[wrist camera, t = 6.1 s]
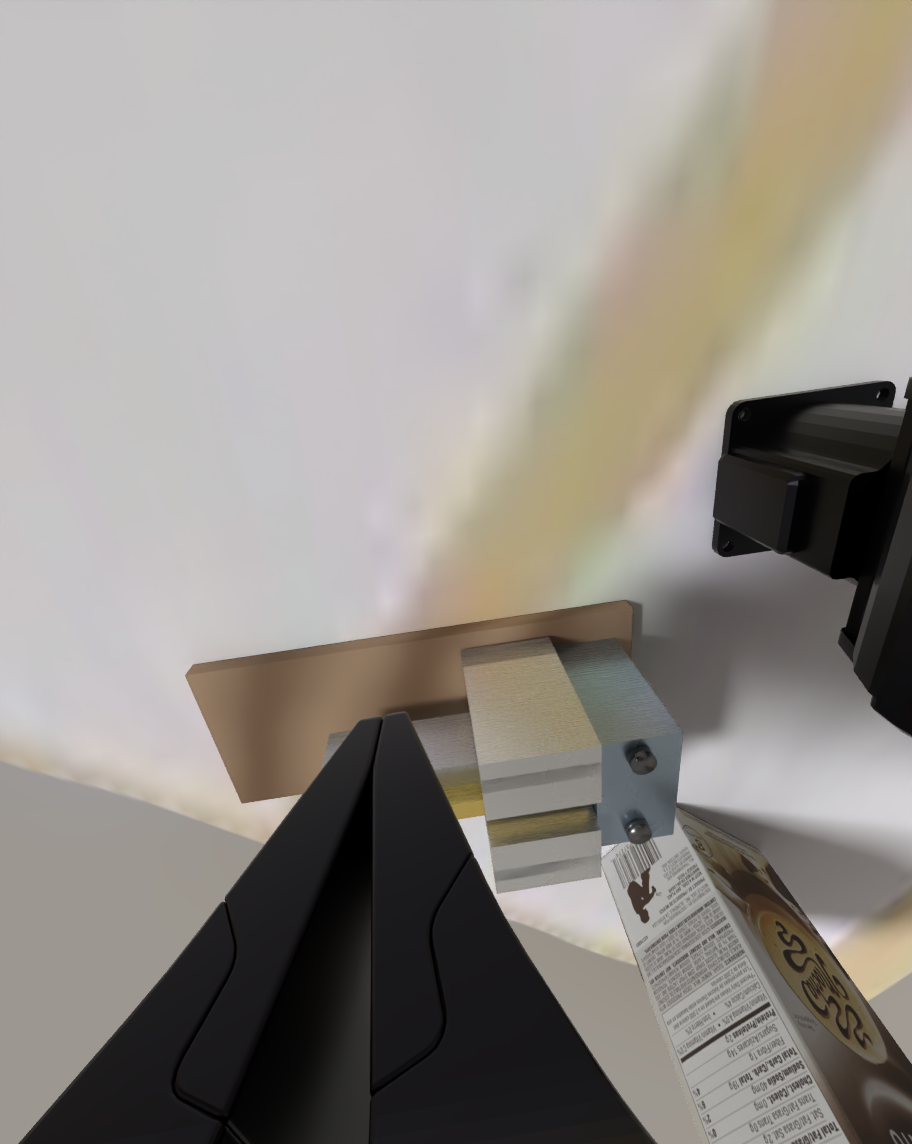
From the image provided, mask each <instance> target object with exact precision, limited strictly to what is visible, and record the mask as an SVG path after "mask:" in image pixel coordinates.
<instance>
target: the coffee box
mask: <svg viewBox="0 0 912 1144" xmlns="http://www.w3.org/2000/svg"><path fill="white" fill-rule="evenodd" d="M601 865H602V868H603V871H604V874H605V876H606V879H607V882H608V884H609V887H610V890H611V893H612V895H613V898H614V901H615V904H616V906H617V909H618V912H619V915H620V917H621V920H622V923H623V926H624V929H625V932H626V934H627V937H628V940H629V943H630V945H631V948H632V950H633V954H634V957H635V959H636V962H637V965H638V967H639V970H640V973H641V976H642V979H643V981H644V984H645V987H646V990H647V993H648V995H649V998H650V1001H651V1003H652V1007H653V1009H654V1012H655V1015H656V1017H657V1021H658V1023H659V1026H660V1029H661V1032H662V1034H663V1037H664V1040H665V1043H666V1045H667V1048H668V1051H669V1054H670V1057H671V1059H672V1062H673V1065H674V1068H675V1071H676V1074H677V1076H678V1079H679V1082H680V1085H681V1088H682V1090H683V1093H684V1096H685V1098H686V1102H687V1104H688V1107H689V1110H690V1112H691V1116H692V1118H693V1121H694V1124H695V1127H696V1130H697V1132H698V1135H699V1138H700V1141H701V1143H702V1144H912V1064H911V1063H910V1061H909V1060H908V1059H907V1057H906V1056H905V1054H904V1053H903V1052H902V1050H901V1049H900V1047H899V1046H898V1044H897V1043H896V1042H895V1040H894V1039H893V1037H892V1036H891V1034H890V1033H889V1032H888V1030H887V1029H886V1027H885V1026H884V1025H883V1024H882V1022H881V1020H880V1019H879V1018H878V1016H877V1015H876V1013H875V1012H874V1011H873V1009H872V1008H871V1006H870V1005H869V1003H868V1002H867V1001H866V999H865V998H864V997H863V995H862V994H861V992H860V991H859V989H858V988H857V987H856V985H855V984H854V982H853V981H852V980H851V978H850V977H849V975H848V974H847V973H846V971H845V970H844V968H843V967H842V966H841V964H840V963H839V961H838V960H837V958H836V957H835V956H834V954H833V953H832V951H831V950H830V948H829V947H828V945H827V944H826V942H825V941H824V940H823V938H822V937H821V936H820V934H819V933H818V931H817V930H816V928H815V927H814V926H813V924H812V923H811V922H810V920H809V919H808V918H807V916H806V915H805V913H804V912H803V910H802V909H801V908H800V906H799V905H798V903H797V902H796V901H795V899H794V898H793V896H792V895H791V893H790V892H789V891H788V889H787V888H786V886H785V885H784V884H783V882H782V881H781V879H780V878H779V877H778V875H777V874H776V872H775V871H774V870H773V868H772V867H771V865H770V864H769V863H768V861H767V860H766V858H765V857H764V856H763V854H762V853H761V852H760V851H758V850H757V849H755V848H753V847H751V846H749V845H747V844H745V843H743V842H741V841H740V840H738V839H736V838H734V837H732V836H730V835H728V834H727V833H725V832H723V831H721V830H719V829H717V828H715V827H713V826H712V825H710V824H708V823H706V822H704V821H702V820H700V819H698V818H697V817H695V816H693V815H691V814H689V813H687V812H685V811H683V810H682V809H680V808H678V807H676V812H675V822H674V833H673V835H667V836H661V837H655V838H651V839H650V840H649V841H647V842H646V843H643V844H633V843H631V842H624V843H619V844H618V845H617V846H616V847H615V848H614V849H613V850H611V851H610V852H609V853H608V854H607V855H605V856H604V857H603V858H602V859H601Z"/></svg>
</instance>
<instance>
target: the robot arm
mask: <svg viewBox="0 0 912 1144" xmlns="http://www.w3.org/2000/svg"><path fill="white" fill-rule="evenodd" d="M879 391H880V395H879V397H878V398H877V399H876V396H877V393H878V392H879ZM895 392H896V387H895V385H894V384H893V383H892V382H890V381H872V382H865V383H858V384H850V385H843V386H836V387H829V388H822V389H815V390H808V391H801V392H794V393H787V394H780V395H773V396H766V397H759V398H752V399H745V400H739V401H736V402H734V403H733V404H732V405H730V407H729V408H728V410H727V413H726V418H725V427H724V436H723V446H722V455H721V458H720V460H719V462H718V472H717V481H716V491H715V501H714V510H713V517H714V518H715V521H714V530H713V540H712V549H713V550H714V552H716V553H717V554H719V555H720V556H722V557H731V556H737V555H744V554H751V553H757V552H764V551H771V550H773V551H775V552H776V553H778V554H786V555H788V556H790V557H792V558H793V559H795V560H797V561H799V562H801V563H803V564H805V565H807V566H809V567H811V568H813V569H814V570H816V571H818V572H820V573H822V574H824V575H826V576H828V577H830V578H832V579H845V580H847V581H849V582H851V583H853V584H855V585H856V586H857V588H856V592H855V596H854V599H853V603H852V607H851V610H850V614H849V617H848V621H847V625H846V627H844V628H842V629H841V632H840V636H839V640H838V644H839V645H840V647H841V648H842V649H843V651H844V652H845V653H846V654H847V656H848V657H849V658H850V660H851V661H852V662H853V667H854V672H855V673H856V675H857V676H858V678H859V679H860V680H861V682H862V683H863V685H864V686H865V688H866V689H867V691H868V692H869V693H870V694H871V695H872V699H871V706H872V708H873V709H874V710H875V711H876V712H877V713H878V714H880V715H881V716H882V717H883V718H885V719H886V720H887V721H889V722H890V723H891V724H893V725H894V726H895V727H896V728H898V729H899V730H900V731H902V732H903V733H905V734H907V735H908V736H910V737H912V377H910V378H909V381H908V385H907V388H906V392H905V396H904V398H906V399H908V402H907V406H906V409H898V408H892V405H893V401H894V397H895ZM742 409H744V412H745V413H744V416H743V417H742V418H741V419H740V420H739V419H738V414H739V412H740V411H741V410H742ZM728 541H729V543H728V545H727V546H726V547H725V548H723V545H724V544H725V543H726V542H728ZM19 1144H657V1142H656V1141H655V1140H654V1139H653V1138H652V1136H651V1135H650V1134H649V1133H648V1131H647V1130H646V1129H645V1128H644V1126H643V1125H642V1124H641V1122H640V1121H639V1120H638V1119H637V1117H636V1116H635V1115H634V1113H633V1112H632V1111H631V1109H630V1108H629V1106H628V1105H627V1104H626V1102H625V1101H624V1100H623V1098H622V1097H621V1095H620V1094H619V1093H618V1091H617V1090H616V1088H615V1087H614V1085H613V1084H612V1083H611V1081H610V1080H609V1078H608V1077H607V1076H606V1074H605V1072H604V1071H603V1070H602V1068H601V1066H600V1065H599V1064H598V1062H597V1061H596V1059H595V1058H594V1056H593V1054H592V1053H591V1051H590V1050H589V1048H588V1047H587V1045H586V1044H585V1042H584V1041H583V1039H582V1038H581V1036H580V1034H579V1033H578V1032H577V1030H576V1028H575V1027H574V1026H573V1024H572V1022H571V1021H570V1019H569V1017H568V1016H567V1014H566V1013H565V1011H564V1010H563V1008H562V1007H561V1005H560V1004H559V1002H558V1001H557V999H556V997H555V996H554V994H553V993H552V991H551V990H550V988H549V987H548V985H547V984H546V982H545V980H544V979H543V977H542V976H541V974H540V973H539V971H538V970H537V968H536V967H535V965H534V963H533V962H532V960H531V959H530V957H529V956H528V954H527V953H526V951H525V949H524V948H523V946H522V944H521V943H520V941H519V939H518V938H517V936H516V934H515V933H514V931H513V929H512V928H511V926H510V924H509V923H508V921H507V919H506V918H505V916H504V914H503V912H502V910H501V908H500V907H499V905H498V903H497V901H496V899H495V897H494V895H493V893H492V891H491V889H490V887H489V885H488V883H487V881H486V879H485V877H484V875H483V873H482V870H481V868H480V866H479V864H478V862H477V860H476V858H474V854H473V852H472V850H471V848H470V845H469V843H468V841H467V839H466V837H465V835H464V833H463V830H462V828H461V826H460V824H459V822H458V820H457V818H456V815H455V813H454V811H453V809H452V807H451V805H450V803H449V800H448V798H447V796H446V794H445V792H444V790H443V788H442V785H441V783H440V781H439V779H438V777H437V775H436V773H435V771H434V768H433V766H432V764H431V762H430V760H429V758H428V756H427V753H426V751H425V749H424V747H423V745H422V743H421V741H420V738H419V736H418V734H417V732H416V730H415V728H414V726H413V723H412V721H411V719H410V717H409V715H408V713H407V712H405V711H403V712H397V713H392V714H387V715H386V716H384V718H383V717H382V716H376V717H370V718H365V719H361V720H360V721H358V722H357V724H356V725H355V726H354V728H353V729H352V730H351V732H350V733H349V734H348V736H347V737H346V738H345V739H344V741H343V742H342V743H341V745H340V746H339V747H338V749H337V750H336V751H335V753H334V754H333V755H332V757H331V758H330V759H329V761H328V762H327V763H326V764H325V766H324V767H323V768H322V770H321V771H320V772H319V774H318V775H317V776H316V778H315V779H314V780H313V782H312V783H311V784H310V786H309V787H308V788H307V789H306V791H305V792H304V793H303V795H302V796H301V797H300V799H299V800H298V801H297V803H296V804H295V805H294V807H293V808H292V809H291V811H290V812H289V813H288V815H287V816H286V817H285V818H284V820H283V821H282V822H281V824H280V825H279V826H278V828H277V829H276V830H275V832H274V833H273V834H272V836H271V837H270V838H269V840H268V841H267V842H266V843H265V845H264V846H263V847H262V849H261V850H260V851H259V853H258V854H257V855H256V857H255V858H254V859H253V861H252V862H251V863H250V865H249V866H248V867H247V869H246V870H245V871H244V872H243V874H242V875H241V876H240V878H239V879H238V880H237V882H236V883H235V884H234V886H233V887H232V888H231V890H230V891H229V892H228V894H227V895H226V896H225V902H221V903H220V904H219V905H218V907H217V908H216V909H215V910H214V912H213V913H212V914H211V916H210V917H209V918H208V920H207V921H206V922H205V923H204V925H203V926H202V927H201V929H200V930H199V931H198V933H197V934H196V935H195V936H194V938H193V939H192V940H191V942H190V943H189V944H188V945H187V947H186V948H185V949H184V950H183V952H182V953H181V954H180V955H179V957H178V958H177V959H176V960H175V962H174V963H173V964H172V965H171V967H170V968H169V970H168V971H167V972H166V973H165V974H164V975H163V977H162V978H161V979H160V980H159V981H158V983H157V984H156V985H155V986H154V987H153V989H152V990H151V991H150V992H149V993H148V994H147V996H146V997H145V998H144V999H143V1000H142V1001H141V1003H140V1004H139V1005H138V1006H137V1008H136V1009H135V1010H134V1011H133V1012H132V1013H131V1015H130V1016H129V1017H128V1018H127V1019H126V1021H125V1022H124V1023H123V1024H122V1025H121V1026H120V1027H119V1029H118V1030H117V1031H116V1032H115V1033H114V1034H113V1036H112V1037H111V1038H110V1039H109V1040H108V1041H107V1043H106V1044H105V1045H104V1046H103V1047H102V1048H101V1049H100V1050H99V1052H98V1053H97V1054H96V1055H95V1056H94V1057H93V1058H92V1060H91V1061H90V1062H89V1063H88V1064H87V1065H86V1067H85V1068H84V1069H83V1070H82V1071H81V1072H80V1073H79V1075H78V1076H77V1077H76V1078H75V1079H74V1080H73V1082H72V1083H71V1084H70V1085H69V1086H68V1087H67V1088H66V1090H65V1091H64V1092H63V1093H62V1094H61V1095H60V1096H59V1098H58V1099H57V1100H56V1101H55V1102H54V1103H53V1105H52V1106H51V1107H50V1108H49V1109H48V1110H47V1111H46V1113H45V1114H44V1115H43V1116H42V1117H41V1118H40V1120H39V1121H38V1122H37V1123H36V1124H35V1125H34V1126H33V1128H32V1129H31V1130H30V1131H29V1132H28V1133H27V1134H26V1136H25V1137H24V1138H23V1139H22V1140H21V1141H20V1142H19Z"/></svg>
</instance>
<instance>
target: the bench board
mask: <svg viewBox="0 0 912 1144" xmlns="http://www.w3.org/2000/svg"><path fill="white" fill-rule="evenodd" d="M632 614H633V608H632V607H631V606H630V605H629V604H628V602H627V601H626V600H623V601H616V602H609V603H603V604H596V605H589V606H583V607H576V608H569V609H563V610H556V611H549V612H543V613H536V614H529V615H523V616H516V617H509V618H503V619H496V620H489V621H483V622H476V623H469V624H463V625H456V626H449V627H443V628H436V629H429V630H423V631H416V632H409V633H403V634H396V635H389V636H383V637H376V638H369V639H363V640H356V641H349V642H343V643H336V644H329V645H323V646H316V647H309V648H303V649H296V650H289V651H283V652H276V653H269V654H262V655H256V656H249V657H242V658H236V659H229V660H222V661H216V662H209V663H202V664H196V665H192V667H191V668H190V670H189V671H188V672H187V674H186V675H185V677H186V679H187V681H188V683H189V686H190V688H191V690H192V692H193V695H194V697H195V699H196V701H197V704H198V706H199V708H200V710H201V713H202V715H203V717H204V719H205V722H206V724H207V726H208V728H209V731H210V733H211V735H212V737H213V740H214V742H215V744H216V746H217V749H218V751H219V753H220V755H221V758H222V760H223V762H224V765H225V767H226V769H227V771H228V774H229V776H230V778H231V780H232V783H233V785H234V787H235V789H236V792H237V794H238V796H239V798H240V801H241V803H248V802H254V801H261V800H267V799H274V798H280V797H286V796H293V795H299V794H303V793H304V792H305V791H306V789H307V788H308V787H309V786H310V784H311V783H312V782H313V780H314V779H315V778H316V776H317V775H318V774H319V772H320V771H321V769H322V765H323V760H324V756H325V752H326V747H327V743H328V739H329V734H331V733H338V732H344V731H351V730H352V729H353V728H354V726H355V725H356V724H357V722H358V721H360V720H361V719H365V718H370V717H376V716H382V717H383V718H384V716H386V715H387V714H392V713H397V712H403V711H405V712H407V713H408V715H409V717H410V719H411V721H416V720H422V719H429V718H435V717H442V716H448V715H455V714H461V713H468V712H469V706H468V699H467V692H466V685H465V678H464V671H463V665H462V658H461V651H460V650H465V649H472V648H478V647H485V646H492V645H498V644H505V643H511V642H518V641H525V640H531V639H538V638H545V637H549V638H550V640H551V643H552V645H553V647H555V646H561V645H568V644H575V643H581V642H588V641H594V640H601V639H607V638H614V637H615V639H616V640H617V641H618V643H619V644H620V645H621V647H622V648H623V650H624V651H625V652H626V654H627V655H628V656H629V658H630V659H631V644H632Z"/></svg>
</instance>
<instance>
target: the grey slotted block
mask: <svg viewBox="0 0 912 1144" xmlns="http://www.w3.org/2000/svg"><path fill="white" fill-rule="evenodd" d="M460 651H461V658H462V665H463V671H464V678H465V685H466V692H467V699H468V706H469V712H470V716H471V723H472V729H473V735H474V742H475V748H476V754H477V761H478V767H479V774H480V781H481V788H482V795H483V801H484V808H485V814H486V815H485V820H486V826H487V833H488V839H489V846H490V852H491V859H492V865H493V871H494V878H495V884H496V891H497V894H498V893H504V892H510V891H516V890H523V889H529V888H535V887H541V886H547V885H553V884H559V883H566V882H572V881H578V880H584V879H590V878H596V877H601V828H600V825H599V823H598V820H597V818H596V815H595V813H594V810H593V808H592V805H591V804H596V803H601V795H602V745H601V743H600V741H599V739H598V737H597V735H596V733H595V731H594V729H593V727H592V725H591V723H590V721H589V719H588V717H587V715H586V713H585V710H584V708H583V706H582V704H581V702H580V700H579V698H578V696H577V694H576V692H575V690H574V688H573V686H572V684H571V682H570V680H569V678H568V675H567V673H566V671H565V669H564V667H563V665H562V663H561V661H560V659H559V657H558V655H557V653H556V651H555V649H554V647H553V645H552V643H551V640H550V638H549V637H545V638H538V639H531V640H525V641H518V642H511V643H505V644H498V645H492V646H485V647H478V648H472V649H465V650H460Z"/></svg>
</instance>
